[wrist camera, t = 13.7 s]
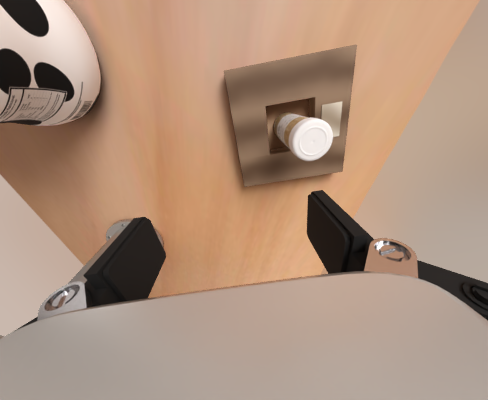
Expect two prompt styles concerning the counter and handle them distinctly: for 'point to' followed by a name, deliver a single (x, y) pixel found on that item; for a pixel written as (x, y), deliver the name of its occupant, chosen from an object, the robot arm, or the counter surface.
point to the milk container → (45, 64)
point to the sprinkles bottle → (304, 135)
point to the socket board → (286, 90)
